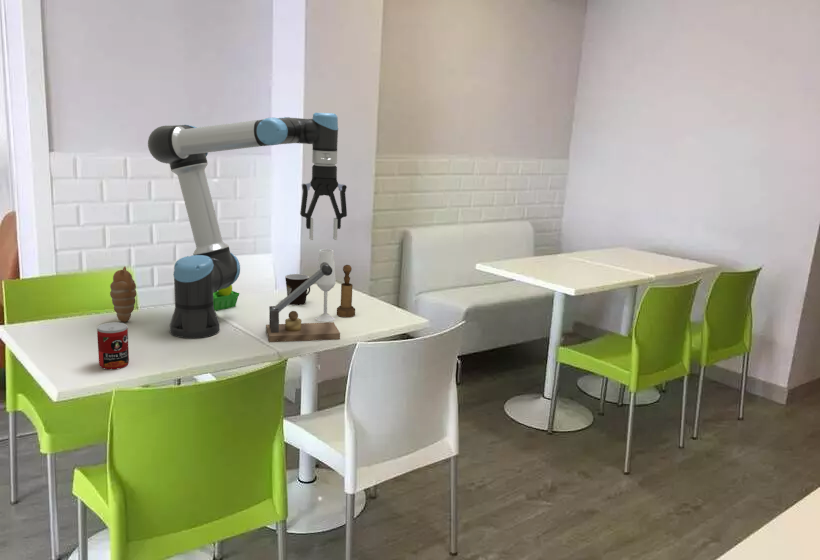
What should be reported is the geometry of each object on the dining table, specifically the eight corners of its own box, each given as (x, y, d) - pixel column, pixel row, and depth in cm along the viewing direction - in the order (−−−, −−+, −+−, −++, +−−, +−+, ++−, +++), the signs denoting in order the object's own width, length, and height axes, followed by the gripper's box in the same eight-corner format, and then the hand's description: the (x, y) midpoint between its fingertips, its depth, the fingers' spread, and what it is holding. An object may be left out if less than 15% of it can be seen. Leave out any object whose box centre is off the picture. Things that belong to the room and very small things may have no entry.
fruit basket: (227, 302, 266) (227, 272, 263) (242, 307, 260) (242, 276, 257) (200, 307, 257) (200, 276, 255) (215, 313, 252) (215, 281, 249)
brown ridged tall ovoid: (134, 325, 234) (132, 271, 229) (108, 325, 232) (106, 270, 228) (140, 318, 242) (138, 265, 238) (115, 317, 241) (112, 264, 237)
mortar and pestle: (354, 318, 254) (355, 267, 250) (335, 317, 254) (336, 266, 250) (355, 312, 260) (357, 263, 256) (337, 311, 260) (339, 262, 256)
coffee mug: (283, 300, 272) (283, 274, 270) (306, 299, 275) (306, 273, 272) (288, 308, 261) (288, 281, 259) (311, 307, 264) (312, 281, 262)
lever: (275, 320, 226) (268, 313, 225) (273, 314, 231) (267, 308, 230) (334, 271, 227) (328, 264, 226) (331, 267, 233) (325, 260, 232)
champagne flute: (336, 321, 249) (338, 252, 244) (317, 322, 247) (318, 252, 241) (332, 315, 255) (334, 248, 250) (313, 316, 253) (314, 248, 248)
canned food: (103, 371, 194) (101, 332, 191) (95, 362, 200) (93, 324, 197) (132, 367, 198) (131, 328, 196) (124, 358, 204) (122, 320, 202)
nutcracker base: (269, 342, 224) (269, 314, 222) (265, 330, 235) (266, 303, 233) (340, 339, 230) (340, 311, 228) (333, 328, 241) (334, 301, 239)
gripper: (293, 165, 216) (292, 241, 221) (359, 166, 221) (356, 241, 226) (290, 162, 223) (289, 237, 228) (354, 164, 228) (352, 237, 233)
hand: (323, 239), depth 227 cm, fingers open, 7 cm apart
